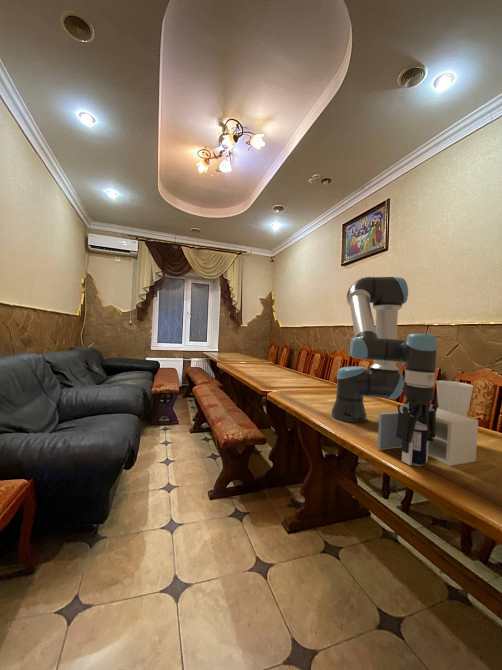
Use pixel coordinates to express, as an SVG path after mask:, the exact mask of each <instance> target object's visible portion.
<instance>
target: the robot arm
mask: <svg viewBox="0 0 502 670" xmlns="http://www.w3.org/2000/svg"><path fill="white" fill-rule="evenodd" d="M408 297H409V286H408V283H407V281H406V280H405V278H403V277H401V276H400V277H398V276H397V277H396V276H377V277H376V276H366V277H361V278H359V279H358V280H356V281H354V282H353V283H352V284H351V286H350V287H349V288H348V290H347V293H346V301H347V304H348V306H349V307H350V313H351V319H352V327H353V333H354V337H352V338H351V339H350V343H349V353H350V357H351V358H353V359H358V360H360V359H361V360H370V361H371V360H373V363H372V364H371V365H369V370H366V367H364V366H353V365H352V366H344V367H340V368H339V369H338V370H337V376H336V379H337V381H336V394H335V395H336V396H335V398H336V399H335V401H334V403H333V406H332V408H331V416H332V417H333V418H334V419H337V420H339V421H343V422H347V423H352V424H353V423H355V424H356V423H359V424H360V423H365V422H366V421H367V412H366V408H365V404H364V397H369V398H381V399H384V400H385V399H388V400H389V399H393V400H394V399H397V398H399V397H400V396H401V394H402V392H403V396H405V398H406V399H405V403H404V404H403V405H399V404H398V405H397V407H396V408H397V412H398V423H397V433H396V437H397V438H399V439H401V440H402V447H401V462H403V463H405V464H407V465H409V466H413V465H412V451H413V443H412V442H411V439H412V435H413V431H414V428H415V424H416V421H419V422H420V423H422V424H426V425H427V426H426V427H427V429H428V437H427V454H426V463H428V458H429V456H428V449H429V441H433V438H434V437H435V429H436V411H437V408H438V405H436V404H432V403H431V402H432V401H433V400H434V396H435V389H434V387H433V386H435V379H436V378H435V374H436V364H437V349H438V342H437V340H438V339H437V336H436V335H434V334H430V333H429V334H428V333H427V334H426V333H409V334H408V335H407V336H406V337H407V338H406V339H397V338H398V337H397V335H398V316H399V315H398V314H399V311H400V310H401V309H402V308H403V305H405V304H406V303H407V301H408ZM371 304H372V308H373V309H374V311H376V315H375V321H374V316H373V313H372V312H373V311H372V308H371ZM396 362H398V363H400V362H401V363H402V362H403V363H405V368H404V375H403V374H402V373H400V371H399V370H400V369H399V367H397V365H396ZM404 382H405V383H404ZM403 388H404V389H403ZM410 415H412V416H410ZM413 416H414V417H413ZM432 437H433V438H432Z"/></svg>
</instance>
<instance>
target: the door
mask: <svg viewBox="0 0 502 670" xmlns="http://www.w3.org/2000/svg"><path fill="white" fill-rule="evenodd" d="M378 415H379V417H378V419H376V420H375V422H376V423H377V424H378V430H377V432H378V433H377V434H378V435H377V447H376V448H377V449H378V450H384V449H392V448H402V440H401V439H399V438H397V437H396V433H397V423H398V411H396V412H384V413H382V412H381V413H379V414H378Z"/></svg>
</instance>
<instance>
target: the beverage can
mask: <svg viewBox="0 0 502 670" xmlns="http://www.w3.org/2000/svg"><path fill="white" fill-rule="evenodd" d="M426 426H427V425H426V424H422V423H420V422H419V421H416V424H415V428H414V431H413V435H412V439H411V442H412V443H413V451H412V465H411V466H415V467H423V466H424V465H426V454H427V437H428V429H427V427H426Z"/></svg>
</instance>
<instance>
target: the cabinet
mask: <svg viewBox="0 0 502 670" xmlns="http://www.w3.org/2000/svg"><path fill="white" fill-rule="evenodd" d="M410 416H412V415H410ZM413 417H414V416H413ZM478 430H479V420H478V419H475V418H472V417H468V416H462V415H459V414H456V413H452V412H449V411H445V410H442V409H439V407H437V411H436V429H435V437H434V438H433V437H432V438H433V441H429V449H428V457H430V458H432V459H434V460H436V461H439V462H440V463H442V464H444V465H446V466H448V467H450V466H451V467H452V466H456V465H461V464H467V463H474V462H476V460H477V446H478V444H477V443H478V433H479V432H478Z"/></svg>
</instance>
